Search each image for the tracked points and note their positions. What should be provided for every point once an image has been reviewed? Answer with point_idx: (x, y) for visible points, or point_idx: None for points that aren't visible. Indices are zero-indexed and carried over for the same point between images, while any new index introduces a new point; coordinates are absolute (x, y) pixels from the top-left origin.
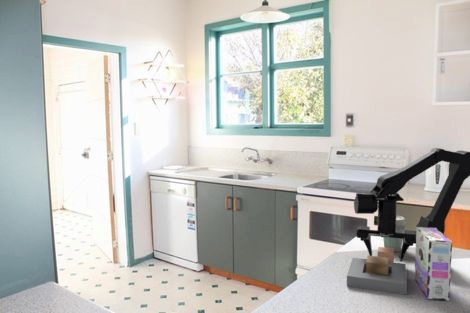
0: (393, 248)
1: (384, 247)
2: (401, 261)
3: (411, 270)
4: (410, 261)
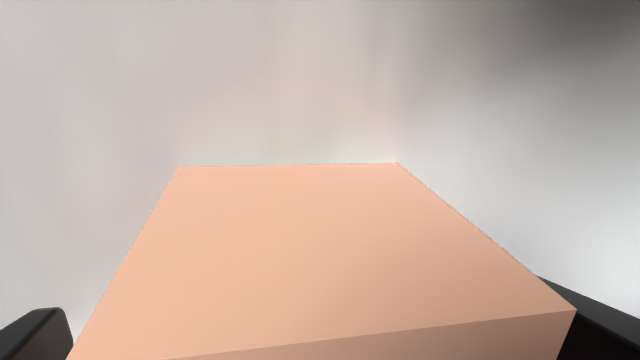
0: (559, 317)
1: (301, 349)
2: None
3: None
4: (621, 35)
